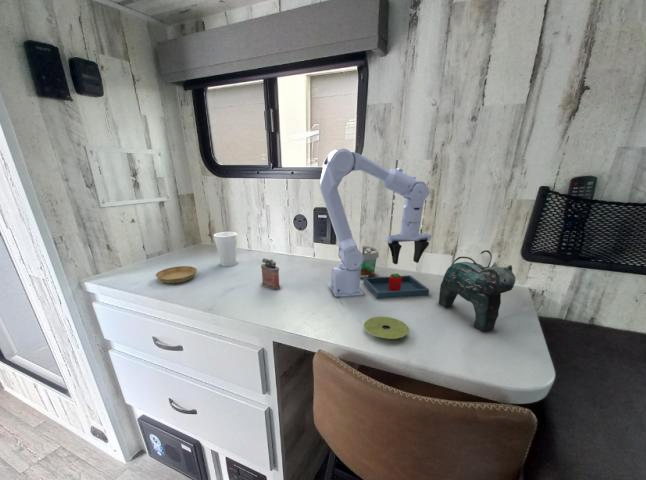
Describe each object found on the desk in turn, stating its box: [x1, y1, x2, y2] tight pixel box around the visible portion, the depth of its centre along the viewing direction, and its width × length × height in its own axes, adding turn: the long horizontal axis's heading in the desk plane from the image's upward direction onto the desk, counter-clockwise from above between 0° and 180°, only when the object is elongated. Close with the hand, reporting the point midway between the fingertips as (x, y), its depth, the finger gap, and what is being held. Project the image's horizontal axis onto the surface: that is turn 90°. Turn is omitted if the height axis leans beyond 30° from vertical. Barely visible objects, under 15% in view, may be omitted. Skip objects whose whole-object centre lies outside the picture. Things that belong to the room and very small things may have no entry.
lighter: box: [260, 257, 281, 291], centre depth 107 cm, size 8×3×10 cm, turn 47°
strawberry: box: [388, 273, 403, 291], centre depth 105 cm, size 4×4×5 cm
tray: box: [363, 274, 430, 300], centre depth 105 cm, size 18×14×2 cm
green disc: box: [363, 316, 410, 340], centre depth 79 cm, size 11×11×2 cm
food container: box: [360, 245, 380, 280], centre depth 117 cm, size 12×6×10 cm, turn 168°
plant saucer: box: [155, 265, 198, 284], centre depth 117 cm, size 15×15×3 cm
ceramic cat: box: [438, 249, 516, 333], centre depth 83 cm, size 20×6×20 cm, turn 17°
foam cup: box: [213, 231, 238, 267], centre depth 131 cm, size 10×9×13 cm
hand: (405, 262), depth 102 cm, fingers open, 7 cm apart
